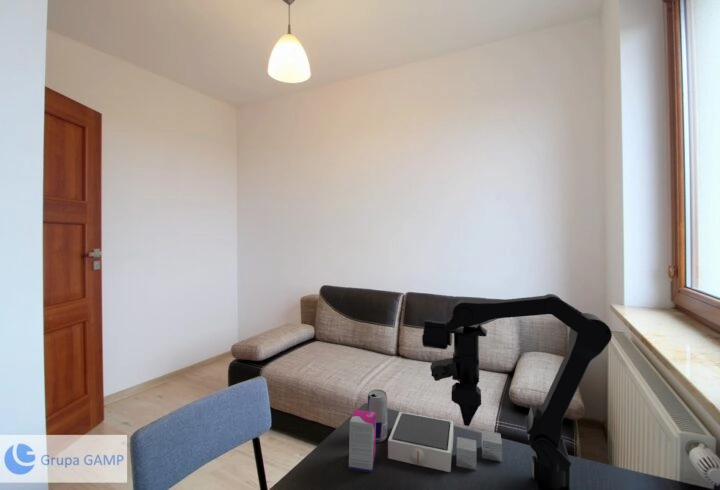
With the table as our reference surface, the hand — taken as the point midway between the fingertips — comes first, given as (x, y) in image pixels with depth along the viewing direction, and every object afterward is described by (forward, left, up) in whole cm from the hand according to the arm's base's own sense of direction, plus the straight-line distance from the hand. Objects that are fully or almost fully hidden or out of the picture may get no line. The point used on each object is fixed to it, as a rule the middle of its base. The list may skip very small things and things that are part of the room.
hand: (466, 415), depth 78 cm
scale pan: (+11, -2, -8) cm, 14 cm away
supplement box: (+24, +8, -12) cm, 28 cm away
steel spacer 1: (0, 0, -12) cm, 12 cm away
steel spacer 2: (-6, -5, -12) cm, 14 cm away
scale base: (+11, -2, -12) cm, 16 cm away
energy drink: (+23, -3, -12) cm, 26 cm away
